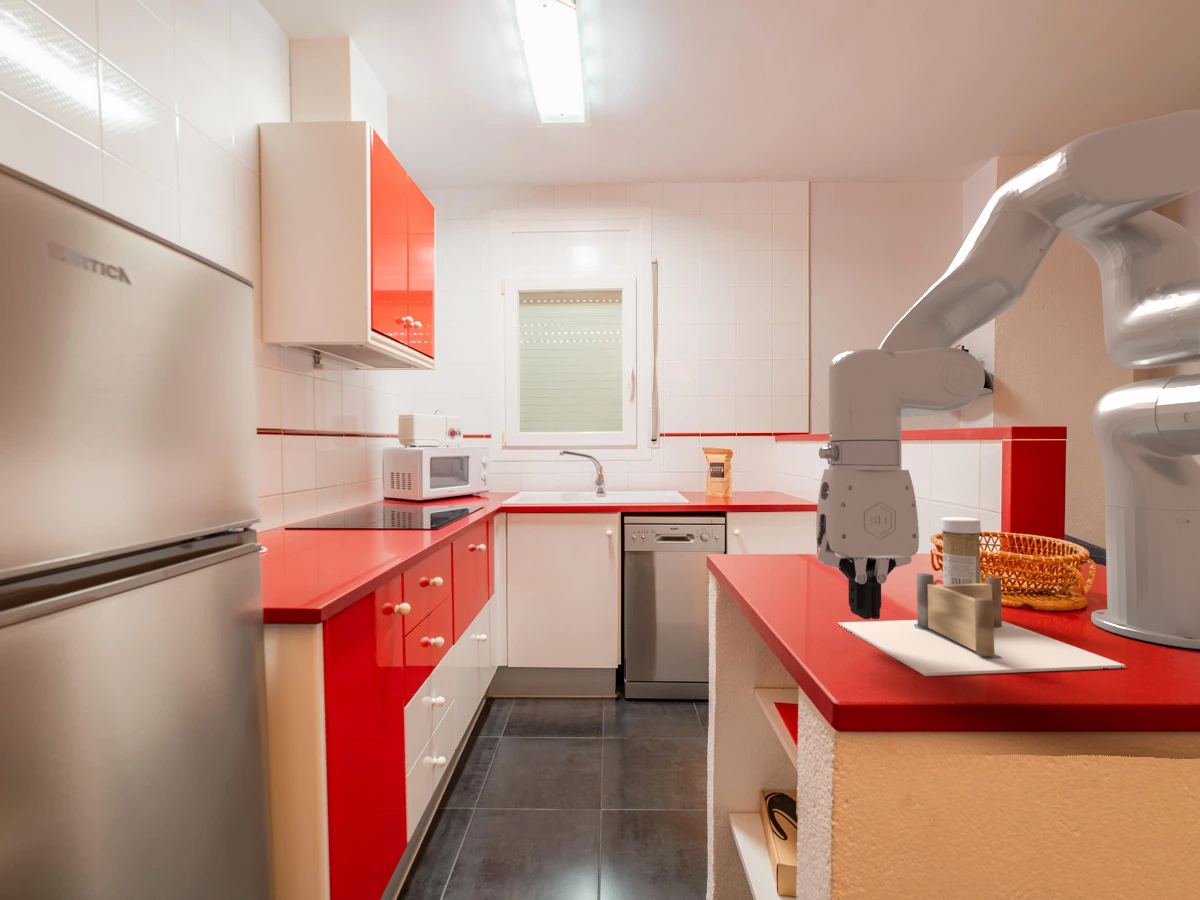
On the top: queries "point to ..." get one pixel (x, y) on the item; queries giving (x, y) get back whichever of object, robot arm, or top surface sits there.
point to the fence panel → (962, 618)
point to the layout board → (952, 658)
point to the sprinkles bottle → (961, 550)
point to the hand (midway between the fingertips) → (864, 615)
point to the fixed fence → (975, 590)
